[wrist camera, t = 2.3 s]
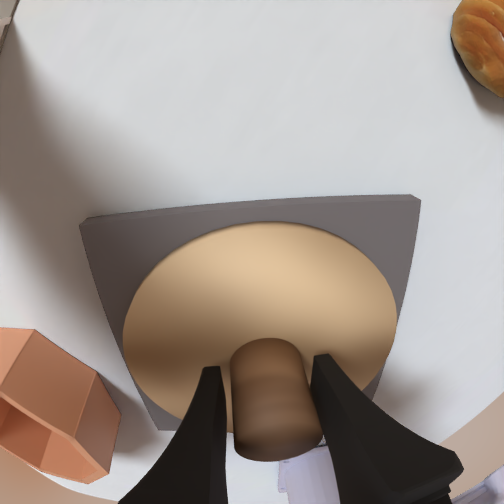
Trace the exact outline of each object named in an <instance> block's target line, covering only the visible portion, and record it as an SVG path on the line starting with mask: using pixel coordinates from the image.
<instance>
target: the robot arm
mask: <svg viewBox="0 0 504 504" xmlns="http://www.w3.org/2000/svg"><path fill="white" fill-rule="evenodd" d="M310 390H311V393H312V397H313V400H314V404H315V407H316V411H317V414H318V418H319V421H320V425H321V428H322V432H323V435H324V437H325V440H326V443H327V446H323V447H318V448H313V449H312V450H310V451H308V452H306V453H304V454H302V455H300V456H297V457H294V458H290V459H286V460H281V461H279V479H278V492H280V493H282V492H287V494H288V500H289V504H504V465H503V466H501V467H500V468H498V469H497V470H495V471H494V472H493V473H492V474H490V475H489V476H488V477H486V478H485V479H484V481H482V482H480V483H479V484H477V485H476V486H474V487H473V488H471V489H469V490H467V491H466V492H464V493H462V494H460V495H459V496H457V497H455V498H453V499H450V497H449V495H448V493H450V492H451V490H450V487H449V484H450V483H451V482H453V481H454V480H455V479H456V478H457V477H459V476H460V475H461V473H462V472H463V470H464V468H463V466H462V464H461V462H460V459H459V458H458V457H457V455H456V453H455V452H454V451H452V450H449V449H446V448H444V447H442V446H439V445H437V444H434V443H432V442H430V441H428V440H426V439H424V438H422V437H421V436H419V435H417V434H416V433H414V432H412V431H411V430H409V429H407V428H406V427H404V426H403V425H401V424H400V423H398V422H397V421H396V420H394V419H393V418H391V417H390V416H389V415H388V414H386V413H385V412H384V411H383V410H381V409H380V408H379V407H378V406H377V405H376V404H375V403H374V402H372V401H371V400H370V399H369V398H368V397H367V396H366V395H365V394H364V393H363V392H362V391H361V390H360V389H359V388H358V387H357V386H356V385H355V384H354V382H353V381H352V380H351V379H350V378H349V377H348V376H347V375H346V373H345V372H344V371H343V370H342V369H341V368H340V366H339V365H338V364H337V363H336V361H335V360H334V359H333V358H332V356H331V355H330V354H329V353H328V354H321V355H315V356H314V358H313V367H312V375H311V383H310ZM226 437H227V407H226V395H225V390H224V385H223V379H222V374H221V368H220V366H206V367H204V368H203V369H202V372H201V376H200V379H199V382H198V385H197V388H196V391H195V394H194V396H193V398H192V401H191V403H190V405H189V408H188V410H187V412H186V414H185V416H184V418H183V420H182V422H181V424H180V426H179V428H178V430H177V431H176V433H175V435H174V437H173V438H172V440H171V441H170V443H169V445H168V446H167V448H166V449H165V451H164V452H163V453H162V455H161V456H160V458H159V459H158V460H157V462H156V463H155V464H154V465H153V467H152V468H151V469H150V470H149V471H148V472H147V474H146V475H145V476H144V477H143V478H142V479H141V480H140V482H139V483H138V484H137V485H136V486H135V487H134V488H133V489H132V490H130V491H129V492H128V493H127V494H126V495H125V496H124V497H123V498H122V499H121V500H120V501H119V502H118V504H228V497H227V485H226V469H225V462H226Z"/></svg>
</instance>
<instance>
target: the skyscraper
mask: <svg viewBox="0 0 504 504" xmlns="http://www.w3.org/2000/svg"><path fill="white" fill-rule="evenodd" d="M17 3H18V0H0V53H1V50H2V46H3V43H4V40H5V36H6V33H7V30H8V27H9V24H10V21H11V19H12V16H13V13H14V10H15V8H16V5H17Z"/></svg>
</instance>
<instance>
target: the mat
mask: <svg viewBox="0 0 504 504" xmlns="http://www.w3.org/2000/svg"><path fill="white" fill-rule="evenodd" d="M420 206H421V200H420V199H418V198H416V197H414V196H413V195H355V196H327V197H305V198H286V199H270V200H255V201H242V202H229V203H217V204H206V205H195V206H185V207H175V208H165V209H156V210H147V211H139V212H131V213H123V214H115V215H107V216H100V217H93V218H87V219H86V220H85V221H84V222H83V223H81V224H80V225H79V227H80V231H81V235H82V239H83V243H84V247H85V251H86V254H87V258H88V261H89V265H90V268H91V271H92V275H93V278H94V281H95V284H96V287H97V290H98V293H99V296H100V299H101V302H102V305H103V308H104V311H105V314H106V316H107V319H108V322H109V324H110V327H111V330H112V332H113V335H114V337H115V340H116V342H117V345H118V347H119V350H120V352H121V354H122V357H123V359H124V361H125V364H126V366H127V368H128V365H127V362H126V360H125V355H124V350H123V328H124V323H125V318H126V315H127V313H128V310H129V308H130V305H131V303H132V300H133V298H134V296H135V293H136V291H137V289H138V288H139V286H140V284H141V283H142V281H143V280H144V278H145V277H146V275H147V274H148V273H149V272H150V271H151V270H152V269H153V268H154V267H155V265H156V264H157V263H158V262H159V261H161V260H162V259H163V258H164V257H166V256H167V255H168V254H169V253H170V252H172V251H173V250H175V249H176V248H178V247H180V246H181V245H183V244H185V243H186V242H188V241H190V240H191V239H194V238H196V237H198V236H201V235H203V234H205V233H208V232H210V231H212V230H216V229H220V228H223V227H227V226H230V225H234V224H241V223H248V222H255V221H286V222H294V223H302V224H306V225H310V226H314V227H318V228H321V229H324V230H326V231H329V232H331V233H333V234H336V235H338V236H340V237H342V238H343V239H345V240H347V241H348V242H350V243H351V244H353V245H355V246H356V247H357V248H358V249H359V250H360V251H362V252H363V253H364V254H365V255H366V256H367V257H368V258H369V259H370V260H371V261H372V263H373V264H374V265H375V266H376V267H377V268H378V270H379V271H380V272H381V274H382V275H383V276H384V277H385V279H386V281H387V283H388V285H389V287H390V289H391V291H392V294H393V297H394V300H395V304H396V313H397V322H398V319H399V315H400V311H401V307H402V303H403V299H404V295H405V291H406V286H407V282H408V277H409V272H410V268H411V263H412V257H413V252H414V246H415V240H416V234H417V228H418V221H419V214H420ZM396 326H397V325H396ZM385 362H386V361H385ZM385 362H384V364H383V366H382V367H381V369H380V370H379V372H378V373H377V375H376V376H375V377H374V378H373V380H372V381H371V382H370V383H369V384H368V385H367V386H366V387H365V388H364V389H363V390H362V392H363V393H364V394H365V395H366V396H367V397H368V398H369V399H370V400H371V401H372V399H373V396H374V394H375V391H376V388H377V386H378V383H379V380H380V377H381V374H382V371H383V368H384V365H385ZM128 370H129V368H128ZM129 373H130V375H131V377H132V379H133V381H134V384H135V386H136V388H137V390H138V392H139V394H140V396H141V398H142V400H143V402H144V404H145V406H146V408H147V410H148V412H149V414H150V416H151V418H152V419H153V421H154V423H155V425H156V427H157V429H158V430H168V431H177V430H178V428H179V426H180V424H181V422H182V419H179V418H177V417H175V416H173V415H172V414H170V413H169V412H167V411H165V410H164V409H162V408H161V407H160V406H158V405H157V404H156V403H155V402H153V401H152V400H151V399H150V398H149V397H148V396H147V395H146V394H145V393H144V392H143V391H142V389H141V388H140V387H139V385H138V384H137V383H136V381H135V380H134V378H133V376H132V374H131V372H130V371H129Z"/></svg>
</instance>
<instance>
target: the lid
mask: <svg viewBox="0 0 504 504" xmlns="http://www.w3.org/2000/svg"><path fill="white" fill-rule="evenodd" d="M396 325H397V313H396V304H395V300H394V297H393V294H392V291H391V289H390V287H389V285H388V283H387V281H386V279H385V277H384V276H383V275H382V274H381V272H380V271H379V270H378V268H377V267H376V266H375V265H374V264H373V263H372V261H371V260H370V259H369V258H368V257H367V256H366V255H365V254H364V253H363V252H362V251H360V250H359V249H358V248H357V247H356V246H355V245H353V244H351V243H350V242H348V241H347V240H345V239H343V238H342V237H340V236H338V235H336V234H333V233H331V232H329V231H326V230H324V229H321V228H318V227H314V226H310V225H306V224H302V223H294V222H286V221H255V222H248V223H241V224H234V225H230V226H227V227H223V228H220V229H216V230H212V231H210V232H208V233H205V234H203V235H201V236H198V237H196V238H194V239H191V240H190V241H188V242H186V243H185V244H183V245H181V246H180V247H178V248H176V249H175V250H173V251H172V252H170V253H169V254H168V255H167V256H166V257H164V258H163V259H162V260H161V261H159V262H158V263H157V264H156V265H155V267H154V268H153V269H152V270H151V271H150V272H149V273H148V274H147V275H146V277H145V278H144V280H143V281H142V283H141V284H140V286H139V288H138V289H137V291H136V293H135V296H134V298H133V300H132V303H131V305H130V308H129V310H128V313H127V315H126V318H125V323H124V328H123V350H124V355H125V360H126V362H127V365H128V368H129V371H130V372H131V374H132V376H133V378H134V380H135V381H136V383H137V384H138V385H139V387H140V388H141V389H142V391H143V392H144V393H145V394H146V395H147V396H148V397H149V398H150V399H151V400H152V401H153V402H155V403H156V404H157V405H158V406H160V407H161V408H162V409H164V410H165V411H167V412H169V413H170V414H172V415H173V416H175V417H177V418H179V419H182V420H183V418H184V416H185V414H186V412H187V410H188V408H189V405H190V403H191V401H192V398H193V396H194V394H195V391H196V388H197V385H198V382H199V379H200V376H201V372H202V369H203V368H204V367H206V366H220V368H221V374H222V379H223V385H224V390H225V395H226V407H227V432H229V433H233V434H234V449H235V451H236V452H237V453H238V454H239V455H240V456H242V457H244V458H246V459H249V460H254V461H263V462H271V461H281V460H286V459H290V458H294V457H297V456H300V455H302V454H304V453H306V452H308V451H310V450H312V449H313V448H315V447H316V446H317V445H318V444H319V443H320V441H321V440H322V438H323V432H322V428H321V425H320V421H319V418H318V414H317V411H316V407H315V404H314V400H313V397H312V393H311V390H310V383H311V375H312V367H313V358H314V356H315V355H321V354H328V353H329V354H330V355H331V356H332V358H333V359H334V360H335V361H336V363H337V364H338V365H339V366H340V368H341V369H342V370H343V371H344V372H345V373H346V375H347V376H348V377H349V378H350V379H351V380H352V381H353V382H354V384H355V385H356V386H357V387H358V388H359V389H360V390H361V391H362V390H363V389H364V388H365V387H366V386H367V385H368V384H369V383H370V382H371V381H372V380H373V378H374V377H375V376H376V375H377V373H378V372H379V370H380V369H381V367H382V366H383V364H384V362H385V361H386V359H387V357H388V355H389V353H390V350H391V347H392V345H393V342H394V337H395V333H396Z"/></svg>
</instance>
